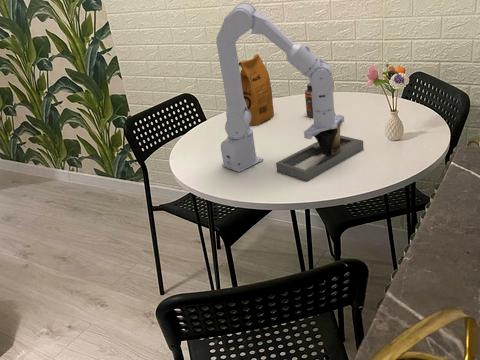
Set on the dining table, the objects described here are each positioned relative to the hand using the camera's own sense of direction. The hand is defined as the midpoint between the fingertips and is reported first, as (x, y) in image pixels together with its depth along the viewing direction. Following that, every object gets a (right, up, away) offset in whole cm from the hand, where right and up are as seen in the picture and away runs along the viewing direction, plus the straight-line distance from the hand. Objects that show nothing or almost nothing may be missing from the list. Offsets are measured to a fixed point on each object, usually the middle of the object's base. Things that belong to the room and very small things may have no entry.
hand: (326, 154), depth 144 cm
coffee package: (-18, +14, +37) cm, 44 cm away
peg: (+3, +1, +2) cm, 3 cm away
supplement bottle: (+2, +15, +33) cm, 36 cm away
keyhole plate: (-1, -1, 0) cm, 2 cm away
